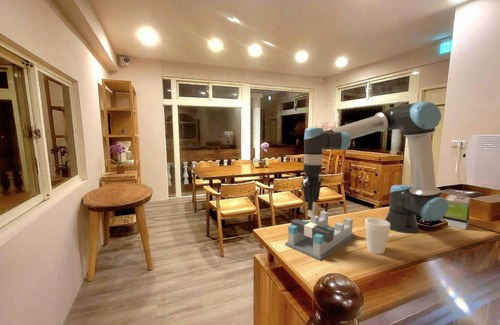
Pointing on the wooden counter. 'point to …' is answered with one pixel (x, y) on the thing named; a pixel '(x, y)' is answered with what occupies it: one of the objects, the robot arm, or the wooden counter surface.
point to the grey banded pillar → (313, 230)
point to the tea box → (458, 211)
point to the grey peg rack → (320, 237)
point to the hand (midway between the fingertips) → (311, 216)
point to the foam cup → (376, 234)
